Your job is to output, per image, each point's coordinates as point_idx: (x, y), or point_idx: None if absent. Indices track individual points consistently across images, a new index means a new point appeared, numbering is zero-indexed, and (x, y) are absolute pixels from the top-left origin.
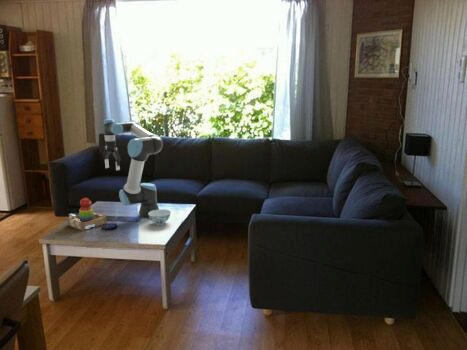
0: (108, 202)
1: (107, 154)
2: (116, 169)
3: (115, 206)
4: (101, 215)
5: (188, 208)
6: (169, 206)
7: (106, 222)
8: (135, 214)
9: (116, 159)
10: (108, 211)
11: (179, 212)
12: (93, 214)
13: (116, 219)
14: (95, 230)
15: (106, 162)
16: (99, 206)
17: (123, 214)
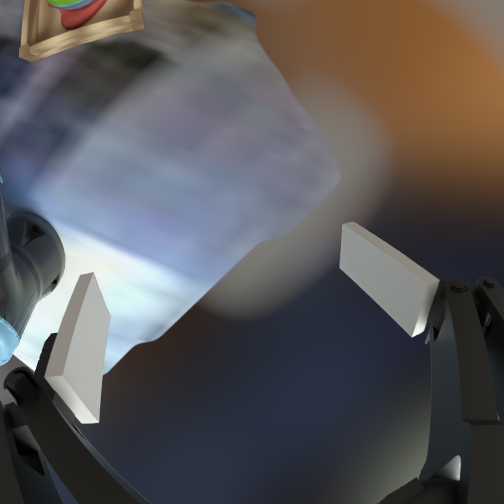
0: (314, 197)
1: (452, 397)
2: (82, 281)
3: (234, 190)
4: (48, 43)
5: None
6: None
7: (31, 61)
8: (57, 209)
9: (27, 421)
10: (184, 128)
11: None
12: (110, 21)
13: (48, 113)
14: (9, 14)
15: (389, 274)
16: (292, 137)
17: (89, 165)
